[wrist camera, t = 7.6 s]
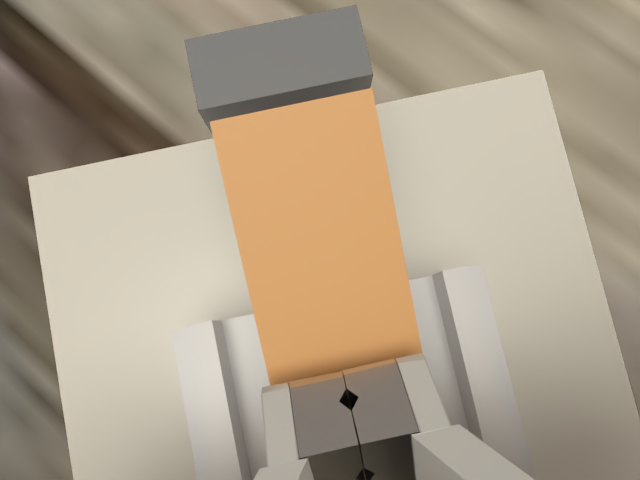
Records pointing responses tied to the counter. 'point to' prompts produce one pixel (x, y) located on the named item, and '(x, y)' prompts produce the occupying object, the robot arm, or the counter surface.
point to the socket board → (420, 257)
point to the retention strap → (318, 235)
